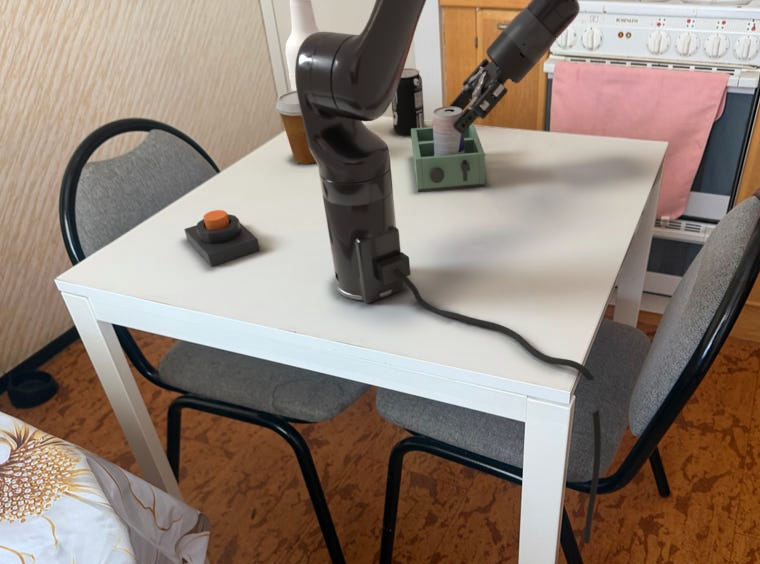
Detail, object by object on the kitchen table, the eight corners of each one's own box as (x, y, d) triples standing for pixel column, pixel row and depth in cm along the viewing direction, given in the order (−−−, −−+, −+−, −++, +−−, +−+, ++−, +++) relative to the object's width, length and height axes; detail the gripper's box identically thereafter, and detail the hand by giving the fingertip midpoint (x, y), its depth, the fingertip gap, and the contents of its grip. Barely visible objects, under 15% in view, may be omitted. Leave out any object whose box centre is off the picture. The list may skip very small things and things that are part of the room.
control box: (260, 251, 109) (254, 228, 107) (211, 267, 106) (204, 244, 104) (234, 226, 117) (228, 204, 114) (187, 241, 113) (180, 218, 111)
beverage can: (389, 129, 149) (384, 71, 142) (417, 123, 151) (413, 65, 144) (401, 138, 144) (396, 79, 137) (430, 132, 146) (426, 73, 139)
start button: (232, 225, 109) (230, 215, 108) (210, 232, 107) (208, 222, 106) (224, 217, 111) (221, 207, 110) (202, 224, 110) (199, 214, 108)
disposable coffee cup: (278, 165, 137) (265, 103, 129) (299, 147, 144) (288, 87, 136) (322, 168, 134) (312, 105, 127) (341, 150, 141) (333, 89, 134)
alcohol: (345, 140, 145) (323, -21, 127) (303, 147, 144) (275, -16, 125) (337, 127, 152) (316, -28, 134) (297, 133, 150) (270, -23, 132)
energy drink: (468, 172, 128) (466, 106, 120) (460, 184, 124) (458, 117, 116) (440, 170, 129) (437, 105, 122) (432, 182, 125) (428, 115, 118)
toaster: (474, 153, 136) (473, 123, 132) (486, 190, 123) (486, 157, 119) (413, 158, 136) (410, 128, 132) (418, 195, 122) (416, 163, 119)
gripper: (498, 19, 118) (434, 94, 124) (513, 40, 106) (441, 121, 113) (528, 50, 121) (464, 121, 128) (545, 73, 110) (474, 150, 117)
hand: (454, 121), depth 120 cm, fingers open, 8 cm apart
